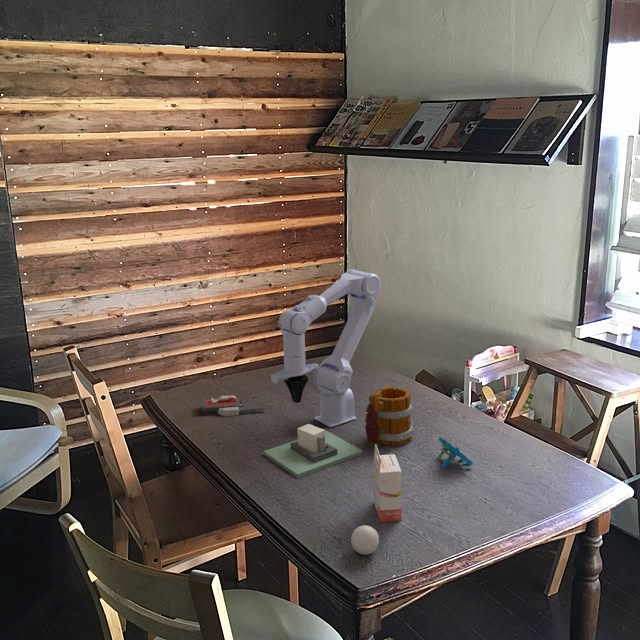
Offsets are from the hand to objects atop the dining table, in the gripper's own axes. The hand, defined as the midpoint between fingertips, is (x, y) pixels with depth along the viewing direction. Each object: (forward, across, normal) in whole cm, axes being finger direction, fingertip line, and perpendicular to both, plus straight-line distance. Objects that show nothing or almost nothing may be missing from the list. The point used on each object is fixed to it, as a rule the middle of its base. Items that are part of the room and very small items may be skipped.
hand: (296, 401), depth 196 cm
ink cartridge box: (+10, +8, +46) cm, 48 cm away
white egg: (+10, +21, +54) cm, 59 cm away
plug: (+8, +5, +13) cm, 16 cm away
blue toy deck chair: (+10, -19, +40) cm, 46 cm away
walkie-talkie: (+10, +6, -26) cm, 29 cm away
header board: (+9, +4, +13) cm, 17 cm away
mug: (+10, -15, +20) cm, 27 cm away
